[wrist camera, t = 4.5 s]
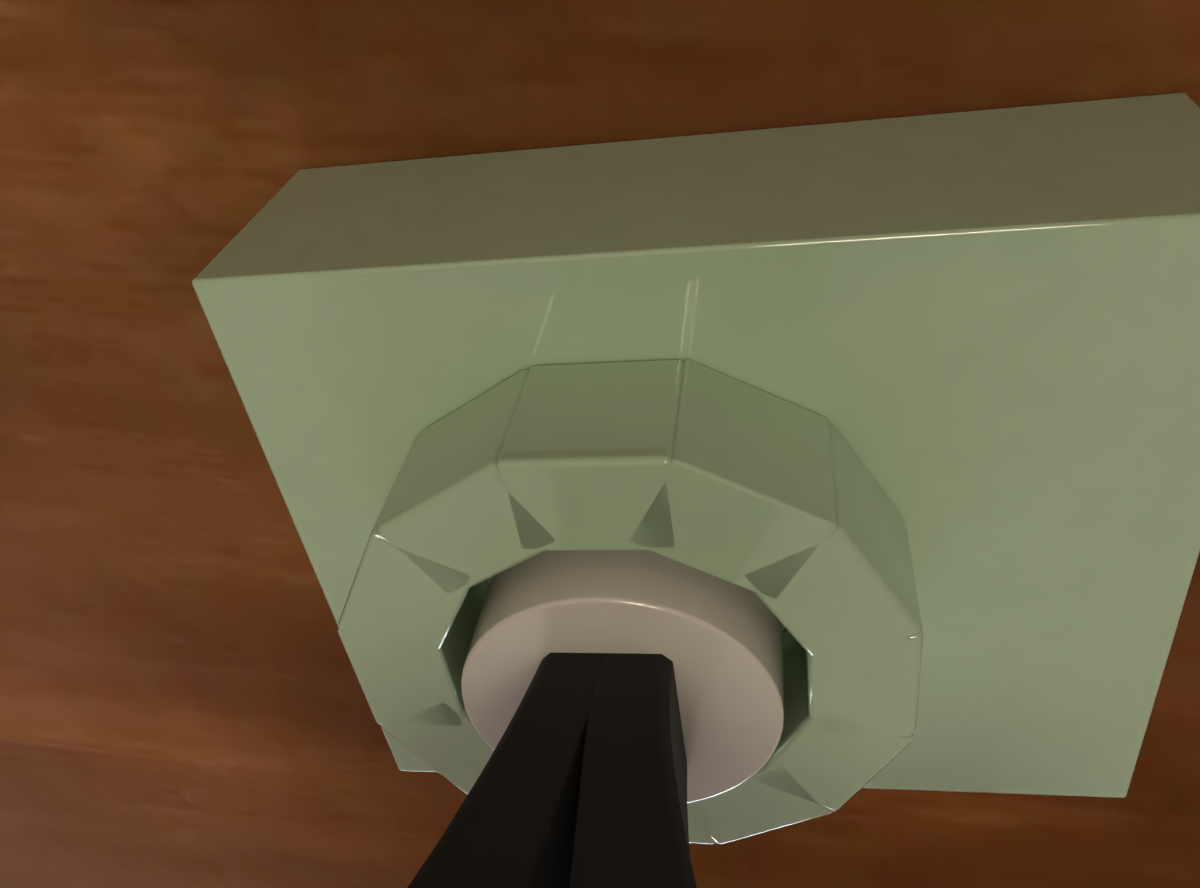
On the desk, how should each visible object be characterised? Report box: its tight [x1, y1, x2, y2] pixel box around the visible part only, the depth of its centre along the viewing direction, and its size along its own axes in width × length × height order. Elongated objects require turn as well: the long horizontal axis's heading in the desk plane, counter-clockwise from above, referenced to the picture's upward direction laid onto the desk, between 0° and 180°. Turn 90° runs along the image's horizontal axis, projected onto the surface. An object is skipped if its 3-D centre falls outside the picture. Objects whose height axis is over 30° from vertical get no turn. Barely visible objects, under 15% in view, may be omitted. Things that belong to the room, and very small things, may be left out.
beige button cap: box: [461, 550, 784, 803], centre depth 12 cm, size 4×4×2 cm
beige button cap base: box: [192, 93, 1200, 844], centre depth 13 cm, size 11×9×5 cm
